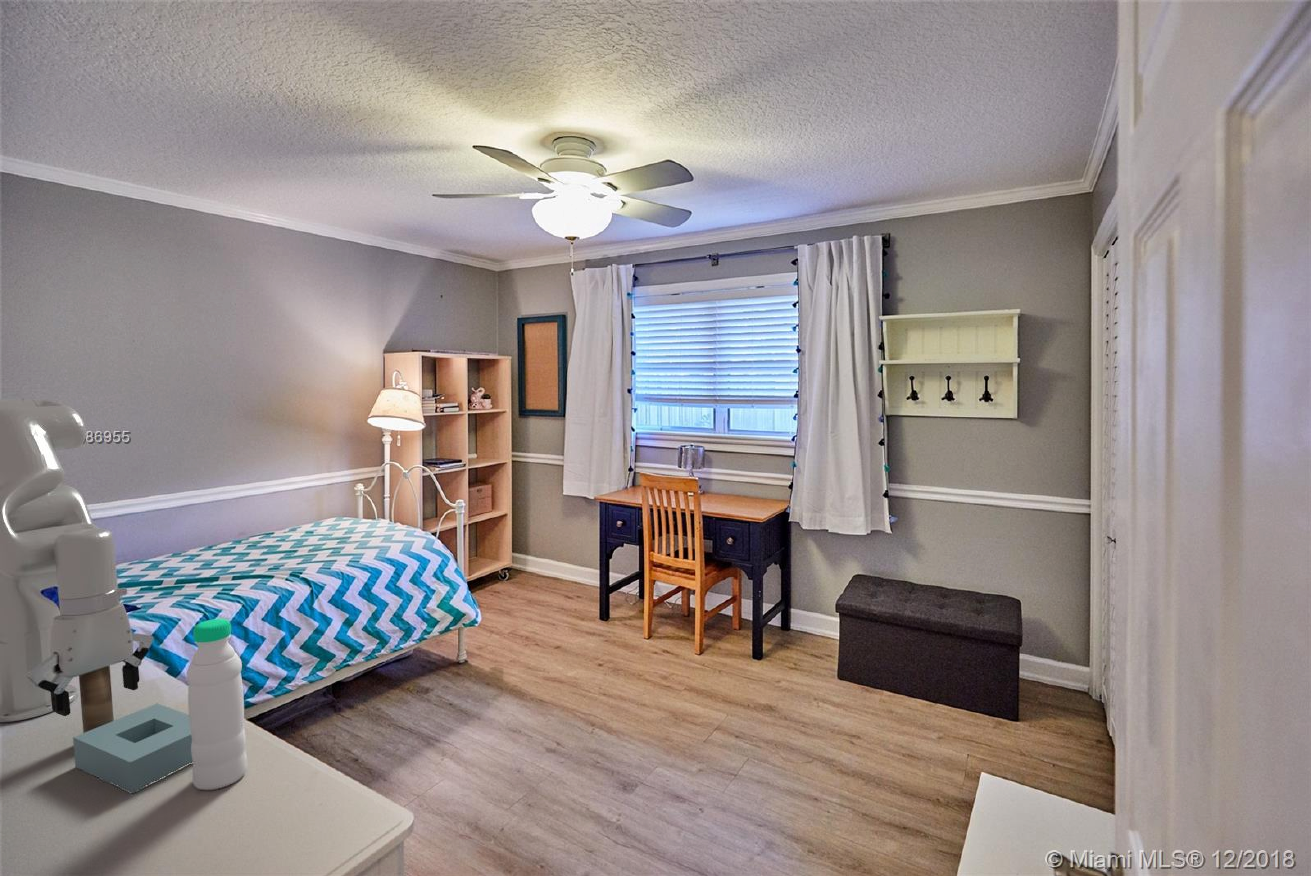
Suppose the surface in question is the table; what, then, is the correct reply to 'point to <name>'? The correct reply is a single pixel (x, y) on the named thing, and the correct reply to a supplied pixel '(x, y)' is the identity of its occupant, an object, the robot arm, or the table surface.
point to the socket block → (136, 747)
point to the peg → (96, 698)
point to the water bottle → (216, 708)
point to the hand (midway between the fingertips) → (98, 700)
